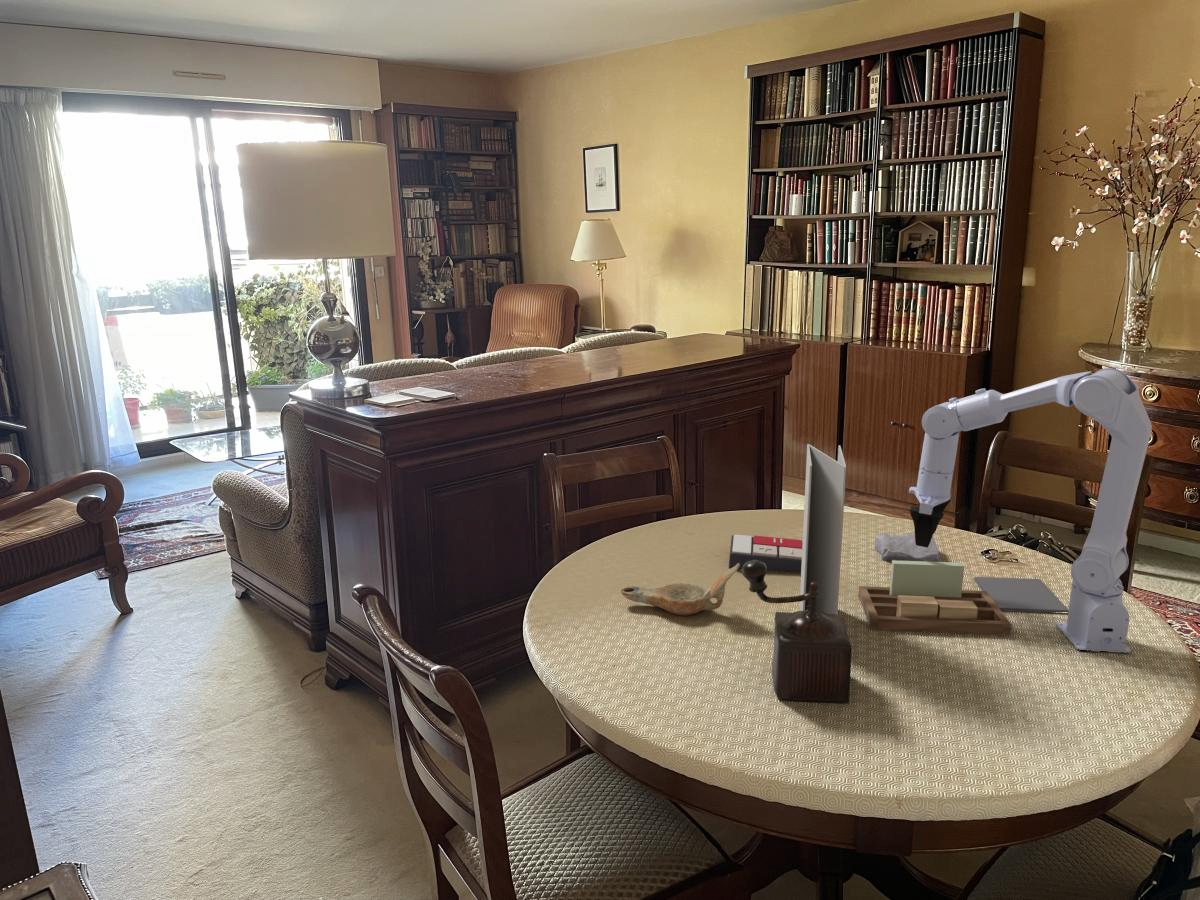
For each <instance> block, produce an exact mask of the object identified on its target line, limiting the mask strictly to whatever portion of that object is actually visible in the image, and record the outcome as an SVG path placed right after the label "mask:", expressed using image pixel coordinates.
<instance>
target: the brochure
mask: <svg viewBox="0 0 1200 900" xmlns="http://www.w3.org/2000/svg"><path fill="white" fill-rule="evenodd" d="M806 445H807V446H806V461H805V462H806V465H805V487H804V505H803V507H804V510H803V525H802V526H803V529H802V542H803V545H802V566H801V573H800V591H799V593H800V594H799V595H803V594H807V593H809V591H810V587H809V586H810V584H811V582H816V583H817V584H818V589H817V591H818V594H819V596H818V597H816V612H822V613H825V614H837V615H839V614H838V613H839V612H838V611H839V609H838V608H839V595H840V593H839V592H840V580H841V565H842V564H841V562H842V561H841V559H842V546H843V545H842V543H843V531H844V529H843V528H844V514H845V513H844V511H845V494H846V477H847V465H846V461H845V457H844V454H843V450H842V447H841V444H840V445H838V448H837V452H838V453H837V460H836V459H834V458H832V457H830V456H829V455H827V454H826V453H825V452H823V451H821V450H819V449H818V448H816V447H814V446H813V445H811V444H809V443H807V444H806ZM807 605H810V598H809V599H807V600H804V601H800V602H799V611H807V610H806V606H807Z"/></svg>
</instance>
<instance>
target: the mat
mask: <svg viewBox="0 0 1200 900" xmlns="http://www.w3.org/2000/svg"><path fill="white" fill-rule="evenodd" d="M973 580H974V582H975V583H976V584H977V587H979V589H980V591H987V592H988V594H989V595H990V596H991V598H992V599H993V601H994V602H995V603H996V605H997V606H998V607H999V609H1000V610H1001V611H1002V612H1017V611H1021V612H1020V613H1022V612H1023V613H1041V612H1068V610H1069V608H1068V607H1067V606H1065V604H1064V603H1063V602H1062V601H1061V600H1060V599H1059V597H1058V596H1057V595H1055V593H1054V592H1053V591H1052V590H1051V589H1050V588H1049V587H1048V586H1047V585H1046V584H1045V583H1044V581H1043V580H1042V579H1041V578H1025V577H1023V578H1021V577H1018V578H1017V577H998V576H997V577H994V576H993V577H992V576H974V577H973ZM1024 611H1025V612H1024Z"/></svg>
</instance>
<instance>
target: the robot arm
mask: <svg viewBox="0 0 1200 900" xmlns="http://www.w3.org/2000/svg"><path fill="white" fill-rule="evenodd" d="M1090 374H1091V375H1090ZM1049 403H1057V404H1060V405H1061V406H1063V407H1067V408H1070V407H1072V406H1073V405H1074V407H1075V408H1076V409H1077V410H1078V411H1079V412H1081V414H1083V415H1085V416H1086V417H1088V418H1090V419H1092V420H1094V421H1095V422H1097V423H1099V424H1100V425H1101V426H1102V428H1103V429H1105V431H1106V432H1107V433H1108V434H1109V435H1110V436H1111V442H1110V445H1109V449H1108V450H1109V451H1108V453H1107V459H1106V462H1105V467H1104V471H1103V474H1102V475H1103V476H1102V479H1101V483H1100V489H1099V492H1098V496H1097V500H1096V504H1095V510H1094V512H1093V513H1094V514H1093V519H1092V522H1091V525H1090V526H1091V527H1090V529H1089V532H1088V535H1087V537H1086V539H1085V542H1084V544H1083V545H1082V546H1083V547H1082V550H1081V554H1080V555H1079V556H1078V558H1076V559H1075V560H1074V561H1073V563H1072V565H1071V569H1070V575H1071V579H1072V581H1071V587H1070V588H1071V589H1070V596H1069V602H1068V614H1067V621H1066V622H1062V621H1060V622H1059V621H1057V622H1056V626H1057V628H1058V629H1059V630H1060V631H1061V632H1062V633H1063V634H1064V636H1065V635H1066V636H1067V637H1066V636H1065V637H1066V638H1067V639H1068V640H1069V641H1070V643H1071V642H1072V643H1073V644H1074V645H1073V644H1072V643H1071V644H1072V645H1073V646H1074V648H1075V649H1076V650H1078V649H1079V650H1078V651H1080V650H1087V651H1086V652H1089V651H1088V650H1091V651H1090V652H1100V651H1108V652H1107V653H1121V652H1123V653H1124V654H1125V653H1127V654H1130V653H1131V648H1130V647H1129V646H1128V645H1127V638H1128V637H1127V636H1128V631H1129V626H1130V625H1129V624H1130V613H1129V610H1128V609H1127V607H1126V606H1125V604H1124V601H1123V595H1124V593H1123V592H1124V586H1123V582H1122V581H1121V579H1120V577H1121V576H1122V575H1123V574H1124V573H1125V572H1126V571H1127V570H1128V567H1129V563H1130V562H1129V560H1130V559H1129V556H1128V553H1127V544H1128V543H1127V542H1128V536H1127V531H1128V528H1129V527H1128V526H1129V522H1130V519H1131V515H1132V511H1133V507H1134V502H1135V499H1136V495H1137V490H1138V487H1139V482H1140V478H1141V474H1142V470H1143V467H1144V463H1145V460H1146V455H1147V451H1148V447H1149V442H1150V438H1151V435H1152V429H1153V428H1152V422H1151V420H1150V418H1149V415H1148V413H1147V410H1146V407H1145V406H1144V403H1143V401H1142V398H1141V396H1140V391H1139V386H1138V384H1137V383H1135V382H1134V381H1133V379H1131V378H1130V377H1129V376H1128V375H1127V374H1126V373H1124V371H1122V370H1120V369H1119V368H1112V367H1106V368H1101V369H1098V370H1097V371H1095V372H1094V373H1092V370H1091V371H1084V372H1078V373H1073V374H1067V375H1062V376H1058V377H1056V378H1053V379H1049V380H1047V381H1043V382H1040V383H1037V384H1033V385H1030V386H1026V387H1024V388H1020V389H1017V390H1013V391H1011V392H1008V393H1001V392H999V391H996V389H989V390H986V388H985V387H984V388H980V389H977V390H975V393H974V394H972V395H968V396H965V397H962V398H957V397H951V398H949V399H948V401H945V402H943V403H940V404H936V405H934V406H932V407H931V408H928V409H927V410H926V411H924V413H923V415H922V418H921V427H922V429H923V431H924V432H925V433H924V438H923V443H922V449H921V450H922V451H921V457H920V462H919V467H918V469H919V470H918V474H917V475H918V476H917V481H916V486H910V487H909V488H908V489H909V490H908V492H909V494H913V495H915V497H916V498H917V500H918V502H919V504H920V505H919V506H916V505H915V506H914V505H911V506H910V508H909V514H910V517H911V519H912V522H913V526H914V527H913V529H914V533H915V542H916V545H917V546H922V547H926V548H928V546H929V544H930V542H931V539H932V537H934V536H933V535H934V534H935V533H936V530H937V529H938V526H939V523H940V522H941V521H942V519H943V518H944V515H945V513H944V511H945V509H946V508H947V506H948V504H950V503H951V500H952V497H951V495H952V494H951V488H952V483H953V478H954V471H955V463H956V458H957V451H958V444H959V437H960V433H961V432H968V431H973V430H975V429H980V428H983V427H988V426H991V425H994V424H1000V423H1002V422H1003V421H1004V420H1005V418H1006V417H1007V415H1008V413H1011V412H1014V411H1020V410H1023V409H1028V408H1031V407H1036V406H1041V405H1045V404H1049Z"/></svg>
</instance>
